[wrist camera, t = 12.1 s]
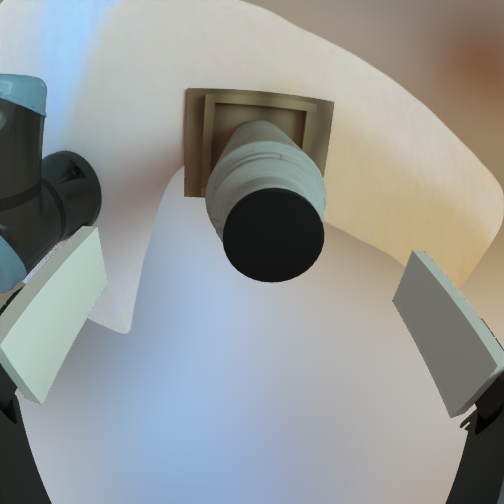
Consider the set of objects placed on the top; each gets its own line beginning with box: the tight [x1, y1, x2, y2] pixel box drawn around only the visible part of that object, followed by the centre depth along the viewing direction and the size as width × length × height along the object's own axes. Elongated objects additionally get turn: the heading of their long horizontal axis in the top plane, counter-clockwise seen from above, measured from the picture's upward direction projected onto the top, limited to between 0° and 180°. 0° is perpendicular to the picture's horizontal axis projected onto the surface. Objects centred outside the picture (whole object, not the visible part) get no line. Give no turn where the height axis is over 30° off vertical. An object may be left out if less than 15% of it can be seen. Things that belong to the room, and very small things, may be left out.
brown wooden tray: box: [184, 88, 334, 198], centre depth 37 cm, size 20×16×2 cm
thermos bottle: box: [205, 120, 326, 283], centre depth 26 cm, size 8×8×28 cm
